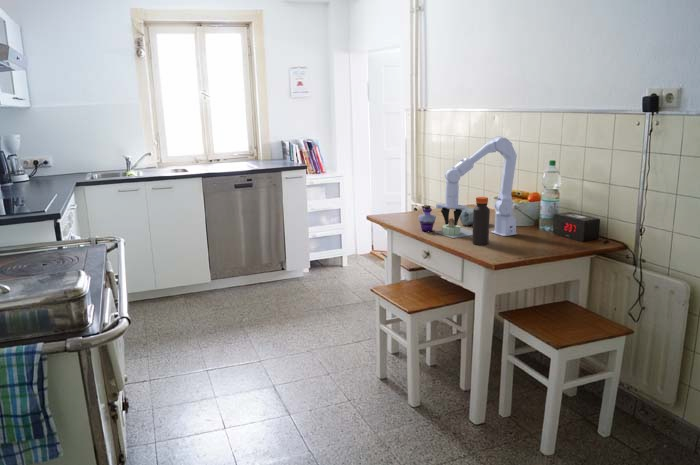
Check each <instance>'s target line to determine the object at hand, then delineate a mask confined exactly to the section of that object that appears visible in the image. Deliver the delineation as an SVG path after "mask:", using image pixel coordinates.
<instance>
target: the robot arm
mask: <svg viewBox="0 0 700 465" xmlns="http://www.w3.org/2000/svg"><path fill="white" fill-rule="evenodd" d="M496 152H498V153H500V155H501V156H502V157H503V158H504V162H503V167H502V175H501V180H500V181H501V183H500V189H499V193H498V194H497V199H496V201H495V202H494V208H495V211H496V212H495V214H494V216H495V217H494V230H491V231H490V230H489V233H492V234H496V235H498V236H499V235H500V236H502V237H507V236H513V235H514V236H515V235H518V233H517V219H516V217H515V216H513V214H512V213H513V211H514V210H513V209H514V206H513V197H512V193H513V192H512V191H513V184H514V177H515V171H516V164H517V153H516V150H515V148H514V146H513V143H512V142H511V141H510V140H509V139H508V138H506V137H502V136H498V135H497V136H495V137H494V138H492V139H490V140H489V141H488V142H486V143H485V144H484V145H483V146H482V147H480V148H479V149H478V150H477V151H476V152H475V153H473V154H472V155H471V156H470V157H464V158H461V159H460V161H459V162H458V163H457V164H456V165H452V166H451V168H450V169H448V170H446V172H445V174H444V177H445V180H446V181H445V183H446V184H445V203H436V205H435V208H436V209H440V212H441V214H442V217H443V220H444V223H445V224H444V225H449V219H450V210H452V211H453V219H454V226H456V225H458V222H459V220H460V215H461V213H462V210H464V211H467V210H468V209H469V208H468V205H461V204H459V190H460V189H459V187H460V186H459V182H460V179H461V177H463V176H464V175H466V174H467V173H469V172H470V171H471V170H472V169H473V168H474V164H476V163H477V162H478V161H480V160H481V159H483V158H484V157H486V156H487V155H489V153H491V154H492V153H496Z"/></svg>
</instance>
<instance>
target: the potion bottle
mask: <svg viewBox="0 0 700 465" xmlns="http://www.w3.org/2000/svg"><path fill="white" fill-rule="evenodd" d="M432 211H433V208H431V205H428V204H427V205H424V206H423V207H422V212H423V214H419V215H418V222H419V224H420V230H422V231H421V232H424V231H429V232H433V229H434V226H435V225H434V224H435V223H436V218H437V216H436V215H435V214H431V212H432ZM429 232H428V233H429Z"/></svg>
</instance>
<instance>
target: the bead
mask: <svg viewBox="0 0 700 465" xmlns="http://www.w3.org/2000/svg"><path fill="white" fill-rule="evenodd" d="M460 228H461V226H460V225H458V224H457V225H456V226H454V228H450V227H449V224H447V225H445V224H443V225H442V226H441V231H442V233H443V234H447V235H457V234H460Z"/></svg>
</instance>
